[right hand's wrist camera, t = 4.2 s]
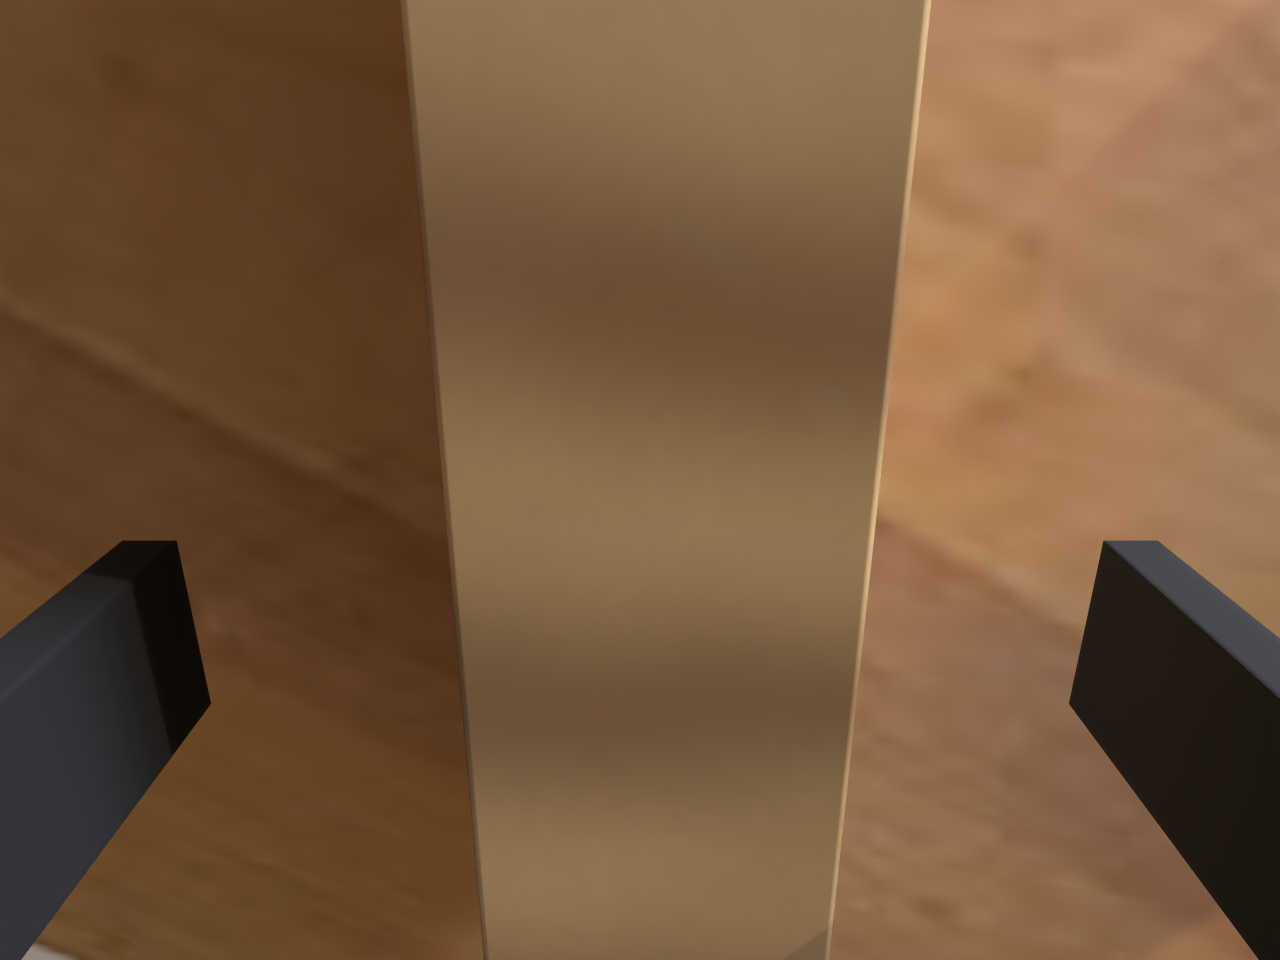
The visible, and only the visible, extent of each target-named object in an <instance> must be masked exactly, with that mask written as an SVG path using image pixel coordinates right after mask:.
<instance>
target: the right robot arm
mask: <svg viewBox="0 0 1280 960" xmlns="http://www.w3.org/2000/svg"><path fill="white" fill-rule="evenodd" d="M210 704H211V701H210V697H209V692H208V687H207V683H206V678H205V673H204V668H203V664H202V659H201V654H200V649H199V645H198V640H197V635H196V631H195V626H194V621H193V616H192V612H191V607H190V602H189V597H188V593H187V588H186V583H185V579H184V574H183V569H182V564H181V560H180V555H179V550H178V546H177V541H121V542H120V543H119V544H118V545H116V546H115V547H114V548H113V549H111V550H110V551H109V552H108V553H106V554H105V555H104V556H103V557H101V558H100V559H99V560H98V561H96V562H95V563H94V564H93V565H92V566H90V567H89V568H88V569H87V570H85V571H84V572H83V573H82V574H80V575H79V576H78V577H77V578H75V579H74V580H73V581H72V582H70V583H69V584H68V585H67V586H65V587H64V588H63V589H62V590H60V591H59V592H58V593H57V594H55V595H54V596H53V597H52V598H50V599H49V600H48V601H47V602H45V603H44V604H43V605H42V606H40V607H39V608H38V609H37V610H35V611H34V612H33V613H32V614H30V615H29V616H28V617H27V618H25V619H24V620H23V621H22V622H20V623H19V624H18V625H17V626H15V627H14V628H13V629H12V630H10V631H9V632H8V633H7V634H5V635H4V636H3V637H2V638H0V960H21V959H22V958H23V956H24V955H25V954H26V952H27V951H28V950H29V948H30V947H31V946H32V944H33V943H34V942H35V940H36V939H37V938H38V936H39V935H40V934H41V932H42V931H43V929H44V928H45V927H46V925H47V924H48V923H49V921H50V920H51V919H52V917H53V916H54V915H55V913H56V912H57V911H58V909H59V908H60V907H61V905H62V904H63V903H64V901H65V900H66V898H67V897H68V896H69V894H70V893H71V892H72V890H73V889H74V888H75V886H76V885H77V884H78V882H79V881H80V880H81V878H82V877H83V876H84V874H85V873H86V872H87V870H88V869H89V867H90V866H91V865H92V863H93V862H94V861H95V859H96V858H97V857H98V855H99V854H100V853H101V851H102V850H103V849H104V847H105V846H106V845H107V843H108V842H109V841H110V839H111V838H112V836H113V835H114V834H115V832H116V831H117V830H118V828H119V827H120V826H121V824H122V823H123V822H124V820H125V819H126V818H127V816H128V815H129V814H130V812H131V811H132V810H133V808H134V807H135V805H136V804H137V803H138V801H139V800H140V799H141V797H142V796H143V795H144V793H145V792H146V791H147V789H148V788H149V787H150V785H151V784H152V783H153V781H154V780H155V779H156V777H157V776H158V774H159V773H160V772H161V770H162V769H163V768H164V766H165V765H166V764H167V762H168V761H169V760H170V758H171V757H172V756H173V754H174V753H175V752H176V750H177V749H178V748H179V746H180V745H181V743H182V742H183V741H184V739H185V738H186V737H187V735H188V734H189V733H190V731H191V730H192V729H193V727H194V726H195V725H196V723H197V722H198V721H199V719H200V718H201V717H202V715H203V714H204V712H205V711H206V710H207V708H208V707H209V706H210ZM1069 704H1070V706H1071V707H1072V708H1073V710H1074V711H1075V712H1076V714H1077V715H1078V717H1079V718H1080V719H1081V721H1082V722H1083V723H1084V725H1085V726H1086V727H1087V729H1088V730H1089V731H1090V733H1091V734H1092V735H1093V737H1094V738H1095V739H1096V741H1097V742H1098V743H1099V745H1100V746H1101V748H1102V749H1103V750H1104V752H1105V753H1106V754H1107V756H1108V757H1109V758H1110V760H1111V761H1112V762H1113V764H1114V765H1115V766H1116V768H1117V769H1118V770H1119V772H1120V773H1121V774H1122V776H1123V777H1124V779H1125V780H1126V781H1127V783H1128V784H1129V785H1130V787H1131V788H1132V789H1133V791H1134V792H1135V793H1136V795H1137V796H1138V797H1139V799H1140V800H1141V801H1142V803H1143V804H1144V805H1145V807H1146V808H1147V810H1148V811H1149V812H1150V814H1151V815H1152V816H1153V818H1154V819H1155V820H1156V822H1157V823H1158V824H1159V826H1160V827H1161V828H1162V830H1163V831H1164V832H1165V834H1166V835H1167V836H1168V838H1169V839H1170V841H1171V842H1172V843H1173V845H1174V846H1175V847H1176V849H1177V850H1178V851H1179V853H1180V854H1181V855H1182V857H1183V858H1184V859H1185V861H1186V862H1187V863H1188V865H1189V866H1190V867H1191V869H1192V870H1193V872H1194V873H1195V874H1196V876H1197V877H1198V878H1199V880H1200V881H1201V882H1202V884H1203V885H1204V886H1205V888H1206V889H1207V890H1208V892H1209V893H1210V894H1211V896H1212V897H1213V898H1214V900H1215V901H1216V903H1217V904H1218V905H1219V907H1220V908H1221V909H1222V911H1223V912H1224V913H1225V915H1226V916H1227V917H1228V919H1229V920H1230V921H1231V923H1232V924H1233V925H1234V927H1235V928H1236V929H1237V931H1238V932H1239V934H1240V935H1241V936H1242V938H1243V939H1244V940H1245V942H1246V943H1247V944H1248V946H1249V947H1250V948H1251V950H1252V951H1253V952H1254V954H1255V955H1256V956H1257V958H1258V959H1259V960H1280V638H1278V637H1277V636H1276V635H1275V634H1273V633H1272V632H1271V631H1270V630H1268V629H1267V628H1266V627H1265V626H1263V625H1262V624H1261V623H1260V622H1258V621H1257V620H1256V619H1255V618H1253V617H1252V616H1251V615H1250V614H1248V613H1247V612H1246V611H1245V610H1243V609H1242V608H1241V607H1240V606H1238V605H1237V604H1236V603H1235V602H1233V601H1232V600H1231V599H1230V598H1228V597H1227V596H1226V595H1225V594H1223V593H1222V592H1221V591H1220V590H1218V589H1217V588H1216V587H1215V586H1213V585H1212V584H1211V583H1210V582H1208V581H1207V580H1206V579H1205V578H1203V577H1202V576H1201V575H1200V574H1198V573H1197V572H1196V571H1195V570H1193V569H1192V568H1191V567H1190V566H1188V565H1187V564H1186V563H1185V562H1184V561H1182V560H1181V559H1180V558H1179V557H1177V556H1176V555H1175V554H1174V553H1172V552H1171V551H1170V550H1169V549H1167V548H1166V547H1165V546H1164V545H1162V544H1161V543H1160V542H1159V541H1103V546H1102V550H1101V555H1100V560H1099V564H1098V569H1097V574H1096V579H1095V583H1094V588H1093V593H1092V597H1091V602H1090V607H1089V612H1088V616H1087V621H1086V626H1085V631H1084V635H1083V640H1082V645H1081V649H1080V654H1079V659H1078V664H1077V668H1076V673H1075V678H1074V682H1073V687H1072V692H1071V697H1070V701H1069Z"/></svg>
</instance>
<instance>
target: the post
mask: <svg viewBox="0 0 1280 960" xmlns="http://www.w3.org/2000/svg"><path fill="white" fill-rule="evenodd" d="M930 8H931V0H400V9H401V21H402V32H403V44H404V55H405V66H406V78H407V89H408V100H409V112H410V123H411V134H412V146H413V157H414V169H415V180H416V191H417V203H418V214H419V225H420V237H421V248H422V259H423V271H424V282H425V293H426V305H427V316H428V328H429V339H430V350H431V362H432V373H433V384H434V396H435V407H436V418H437V430H438V441H439V453H440V464H441V475H442V487H443V498H444V509H445V521H446V532H447V543H448V555H449V566H450V578H451V589H452V600H453V612H454V623H455V634H456V646H457V657H458V668H459V680H460V691H461V703H462V714H463V725H464V737H465V748H466V759H467V771H468V782H469V793H470V805H471V816H472V828H473V839H474V850H475V862H476V873H477V884H478V896H479V907H480V918H481V930H482V941H483V953H484V960H829V955H830V946H831V936H832V927H833V917H834V908H835V899H836V889H837V880H838V871H839V861H840V852H841V842H842V833H843V824H844V814H845V805H846V796H847V786H848V777H849V767H850V758H851V749H852V739H853V730H854V721H855V711H856V702H857V692H858V683H859V674H860V664H861V655H862V646H863V636H864V627H865V617H866V608H867V599H868V589H869V580H870V571H871V561H872V552H873V543H874V533H875V524H876V514H877V505H878V496H879V486H880V477H881V468H882V458H883V449H884V439H885V430H886V421H887V411H888V402H889V393H890V383H891V374H892V364H893V355H894V346H895V336H896V327H897V318H898V308H899V299H900V289H901V280H902V271H903V261H904V252H905V243H906V233H907V224H908V214H909V205H910V196H911V186H912V177H913V168H914V158H915V149H916V139H917V130H918V121H919V111H920V102H921V93H922V83H923V74H924V64H925V55H926V46H927V36H928V27H929V18H930Z"/></svg>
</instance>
